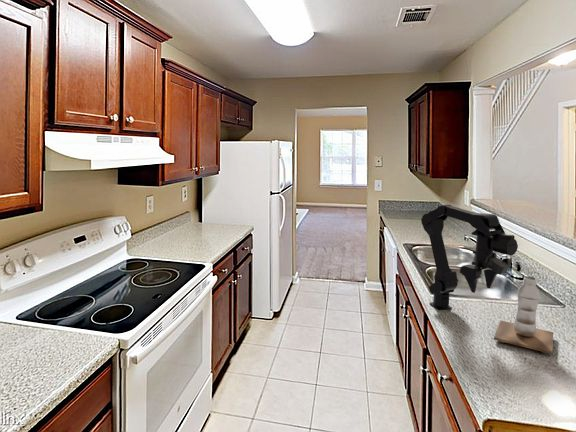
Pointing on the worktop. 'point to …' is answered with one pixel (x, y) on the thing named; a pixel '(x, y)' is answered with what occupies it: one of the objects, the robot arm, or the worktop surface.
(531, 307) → the plastic bottle
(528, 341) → the shelf board
